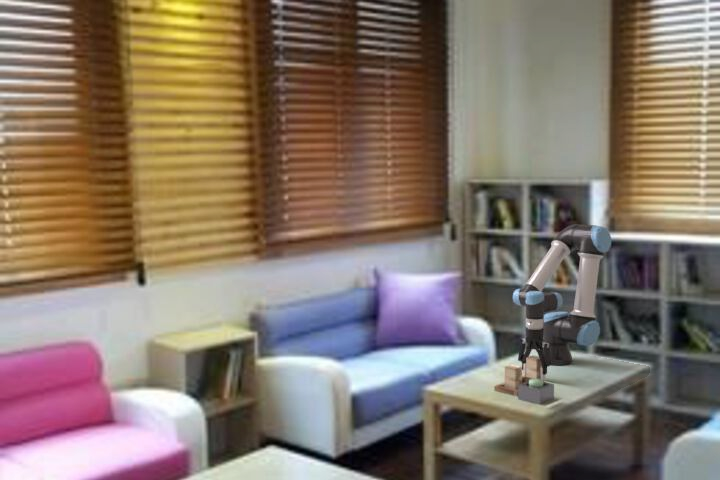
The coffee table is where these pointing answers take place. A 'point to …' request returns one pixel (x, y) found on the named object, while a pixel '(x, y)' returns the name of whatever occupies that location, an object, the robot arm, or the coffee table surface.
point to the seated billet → (513, 376)
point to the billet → (533, 367)
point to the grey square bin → (536, 393)
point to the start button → (536, 383)
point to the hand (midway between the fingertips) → (534, 379)
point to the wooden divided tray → (502, 389)
